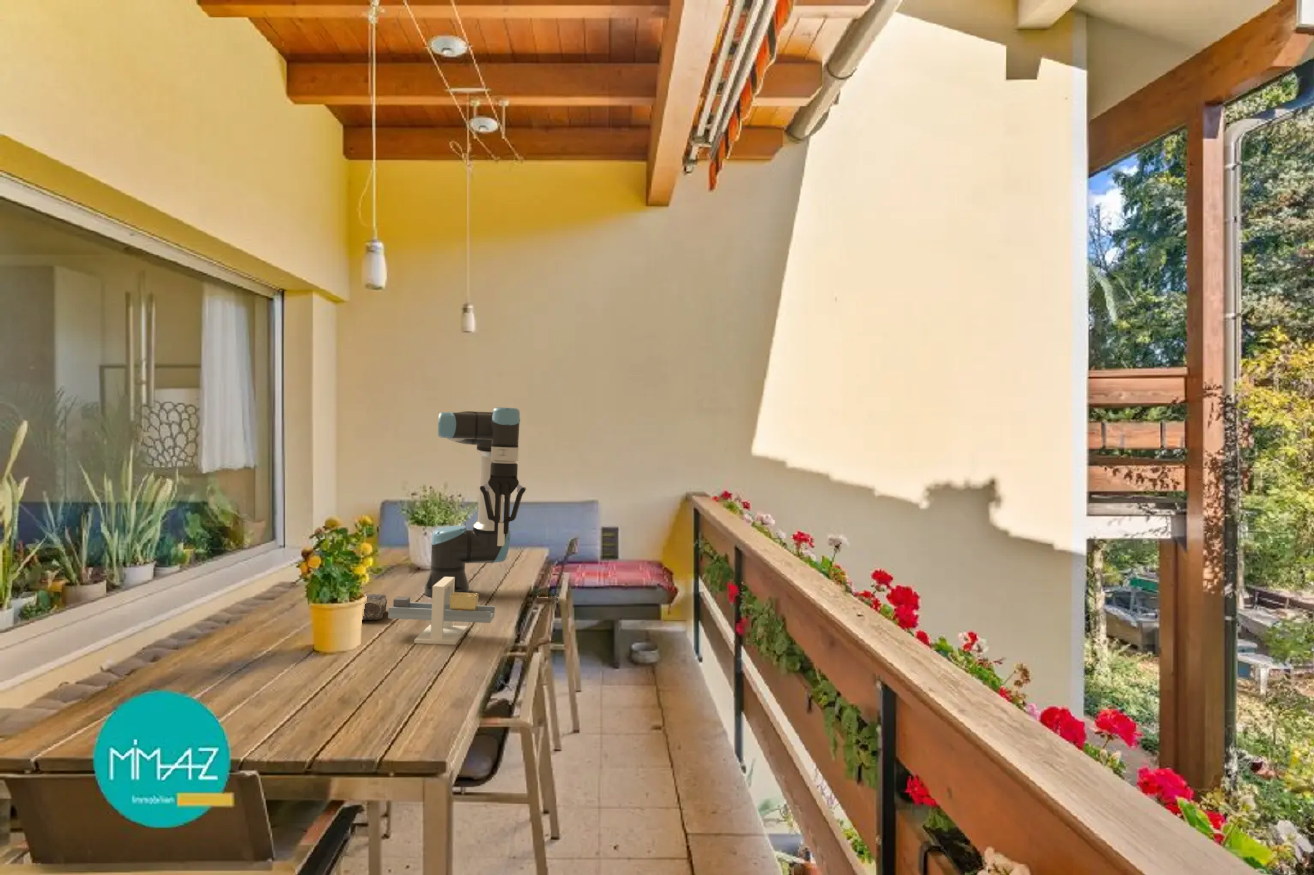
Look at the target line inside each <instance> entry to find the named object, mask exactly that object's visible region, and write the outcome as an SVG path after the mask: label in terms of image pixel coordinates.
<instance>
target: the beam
mask: <svg viewBox="0 0 1314 875" xmlns="http://www.w3.org/2000/svg"><path fill="white" fill-rule="evenodd" d="M387 612H388V614H387V619H398V620H417V621H418V620H419V621H431V616H432V602H419V601H418V602H415V601H413V602H412V601H411V597H410V596H397V597H395V598H394V599H393V605H392V606H388V611H387ZM495 614H496V606H495V605H480V604H478V611H470V610H450V587H449V586H448V587H447V588H446V589H445V596H444V621H453V622H459V623H460V622H461V623H462V622H463V623H479V624H480V623H483V624H490V623H491V622H492V620H494V618H495Z"/></svg>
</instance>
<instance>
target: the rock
mask: <svg viewBox="0 0 1314 875" xmlns="http://www.w3.org/2000/svg"><path fill="white" fill-rule="evenodd" d="M365 594H366V596H367V603H366V604H365V609H364V616H363V621H372V620H376V621H379V620H381V619H382V618H383V616H384V613H385V612H387V604H388V599H387V596H386V594H381V593H378V594H377V593H365Z"/></svg>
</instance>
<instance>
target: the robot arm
mask: <svg viewBox="0 0 1314 875" xmlns="http://www.w3.org/2000/svg"><path fill="white" fill-rule="evenodd" d="M520 415H521V414H520V409H518V408H516V407H494V408H493V409H492V411H473V410H472V411H471V410H470V411H469V410H465V411H458V412H454V411H448V412H447V411H446V412H445V411H443V412H440V413H439V414H438V416H437V417H438V420H437V422H438V424H437V436H438V437H439V438H443V439H447V440H449V441H452V442H455V443H458V444H463V445H473V446H476V451H477V452H478V453H479V454H480V468H479V469H480V470H479V471H480V472H479V488H478V490H479V491H478V506H477V507H478V510H477V521H476V522H475V523H473V526H472V529H470V530H469V529H468V528H467V526H466V525H450V526H449V525H448V526H444V527H440V528H437V529H436V530H434V531H433V532H432V536H431V543H430V546H431V551H430V552H431V554H430V556H431V557H430V572H429V574H428V578H427V580H426V582H425V585H424V591H423V592H424V595H425V596H428V597H431V598H432V591H433V590H432V588H433V586H434V585H435V584H436V583H437V582H439V581H440V580H441V579H442V578H444V577H455V585H454V592H464V593H470V584H469V581H468V577H467V574H466V564H497V563H503V562H504V561H505V560H506V559H507V557H508V553H509V549H510V542H511V531H510V522H513V521H515V520H516V519H517V515H518V511H519V508H520V505H521V501H522V498H523V495H524V494H525V493H526V491H527V488H526V487H525V486H522V485H521V484H520V481H519V480H518V471H519V470H518V469H519V468H518V467H519V465H518V463H517V462H518V461H519V439H520V438H519V435H520V423H521V418H520V417H521V416H520ZM515 490H516V493H517V494H516V496H515V500H514V504H513V508H512V511H511V497H512V496H511V495H512V493H513V492H514V491H515ZM510 512H511V513H510Z"/></svg>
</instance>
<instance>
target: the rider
mask: <svg viewBox="0 0 1314 875" xmlns="http://www.w3.org/2000/svg"><path fill="white" fill-rule="evenodd" d="M479 595H480V593H479V592H478V593H477V592H469V593H464V592H453V593H452V594H451V595H450V610H470V611H478V605H479Z"/></svg>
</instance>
